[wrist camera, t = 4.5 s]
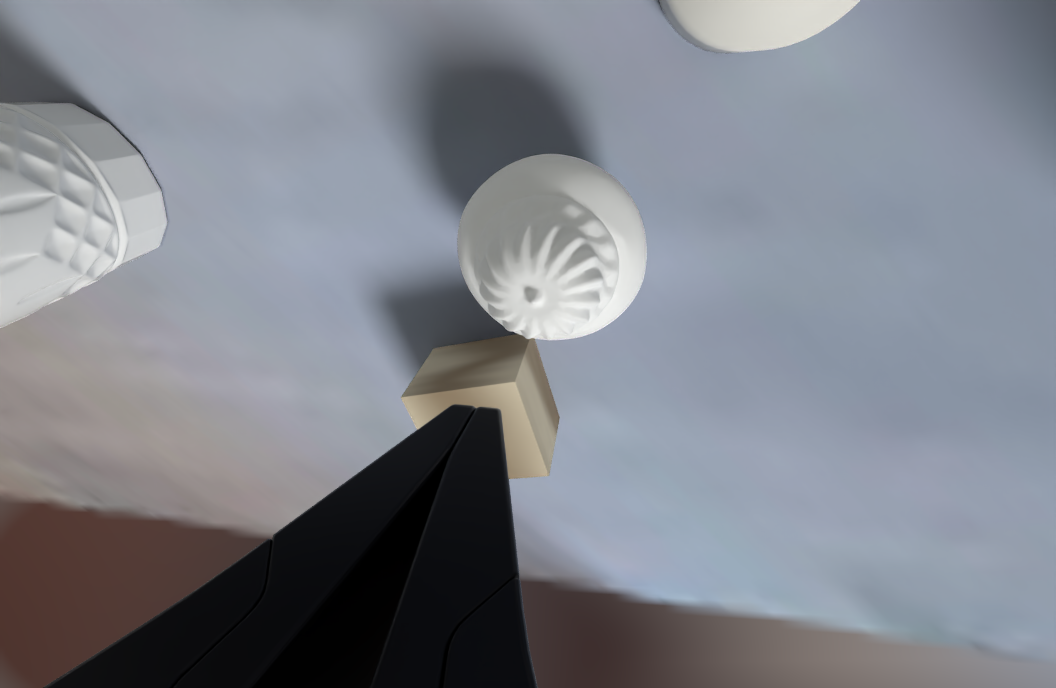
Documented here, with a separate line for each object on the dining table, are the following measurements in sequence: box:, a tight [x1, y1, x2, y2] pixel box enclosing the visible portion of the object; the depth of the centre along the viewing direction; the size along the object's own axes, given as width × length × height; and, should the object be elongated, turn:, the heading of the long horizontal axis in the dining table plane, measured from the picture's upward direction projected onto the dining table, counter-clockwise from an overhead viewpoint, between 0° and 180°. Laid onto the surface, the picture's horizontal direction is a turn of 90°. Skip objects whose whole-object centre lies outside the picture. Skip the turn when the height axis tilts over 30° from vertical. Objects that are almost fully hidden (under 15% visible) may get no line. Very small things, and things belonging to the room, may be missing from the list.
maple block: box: [401, 334, 560, 479], centre depth 21 cm, size 5×5×4 cm
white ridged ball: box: [457, 154, 647, 340], centre depth 15 cm, size 6×6×7 cm
